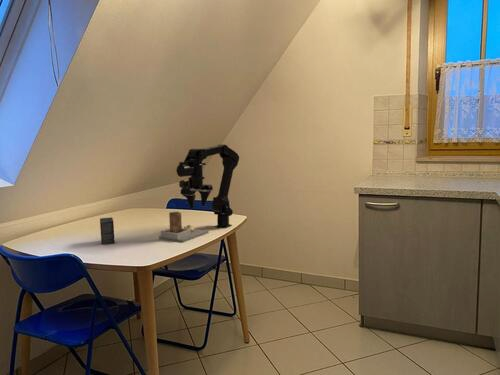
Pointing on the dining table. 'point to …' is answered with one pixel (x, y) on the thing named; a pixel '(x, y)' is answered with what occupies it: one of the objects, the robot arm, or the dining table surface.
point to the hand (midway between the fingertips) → (197, 207)
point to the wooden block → (175, 222)
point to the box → (107, 230)
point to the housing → (182, 234)
